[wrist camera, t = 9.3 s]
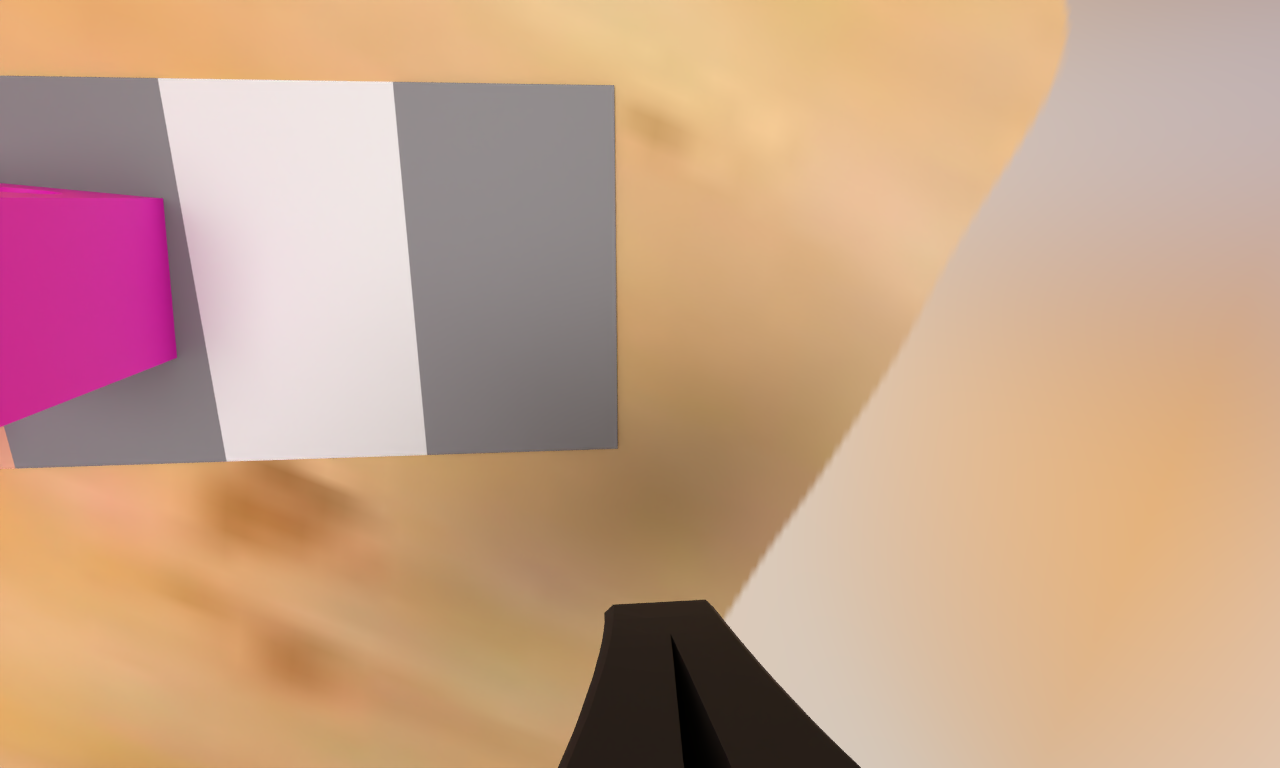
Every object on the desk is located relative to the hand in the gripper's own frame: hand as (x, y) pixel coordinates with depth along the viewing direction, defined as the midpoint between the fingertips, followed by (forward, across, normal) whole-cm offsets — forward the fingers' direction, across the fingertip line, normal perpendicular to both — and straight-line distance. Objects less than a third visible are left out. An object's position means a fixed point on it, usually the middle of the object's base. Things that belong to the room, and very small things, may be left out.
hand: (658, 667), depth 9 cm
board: (+9, +12, -4) cm, 16 cm away
